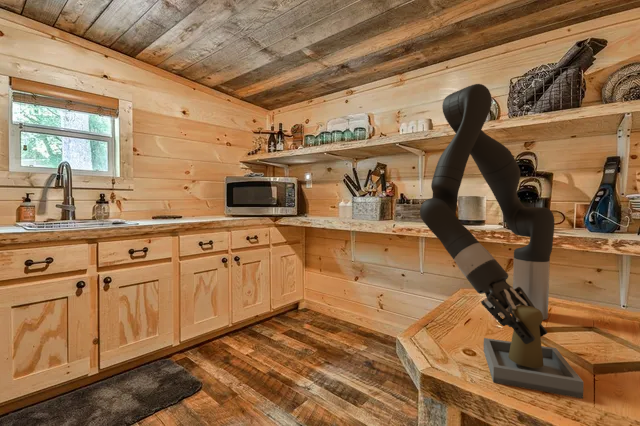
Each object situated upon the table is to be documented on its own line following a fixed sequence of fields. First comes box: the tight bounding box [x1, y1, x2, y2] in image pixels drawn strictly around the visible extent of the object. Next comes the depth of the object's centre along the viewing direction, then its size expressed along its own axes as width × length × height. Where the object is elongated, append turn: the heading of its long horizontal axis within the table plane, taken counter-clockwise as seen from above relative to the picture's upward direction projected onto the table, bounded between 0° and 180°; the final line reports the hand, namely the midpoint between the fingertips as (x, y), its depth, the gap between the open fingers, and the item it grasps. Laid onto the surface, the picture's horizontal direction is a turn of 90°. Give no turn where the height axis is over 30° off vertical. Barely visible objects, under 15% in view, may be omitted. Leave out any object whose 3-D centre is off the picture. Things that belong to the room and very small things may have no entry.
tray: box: [483, 337, 585, 400], centre depth 65 cm, size 14×14×3 cm
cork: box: [508, 305, 544, 368], centre depth 65 cm, size 6×6×11 cm
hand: (537, 338), depth 63 cm, fingers closed on cork, 5 cm apart
